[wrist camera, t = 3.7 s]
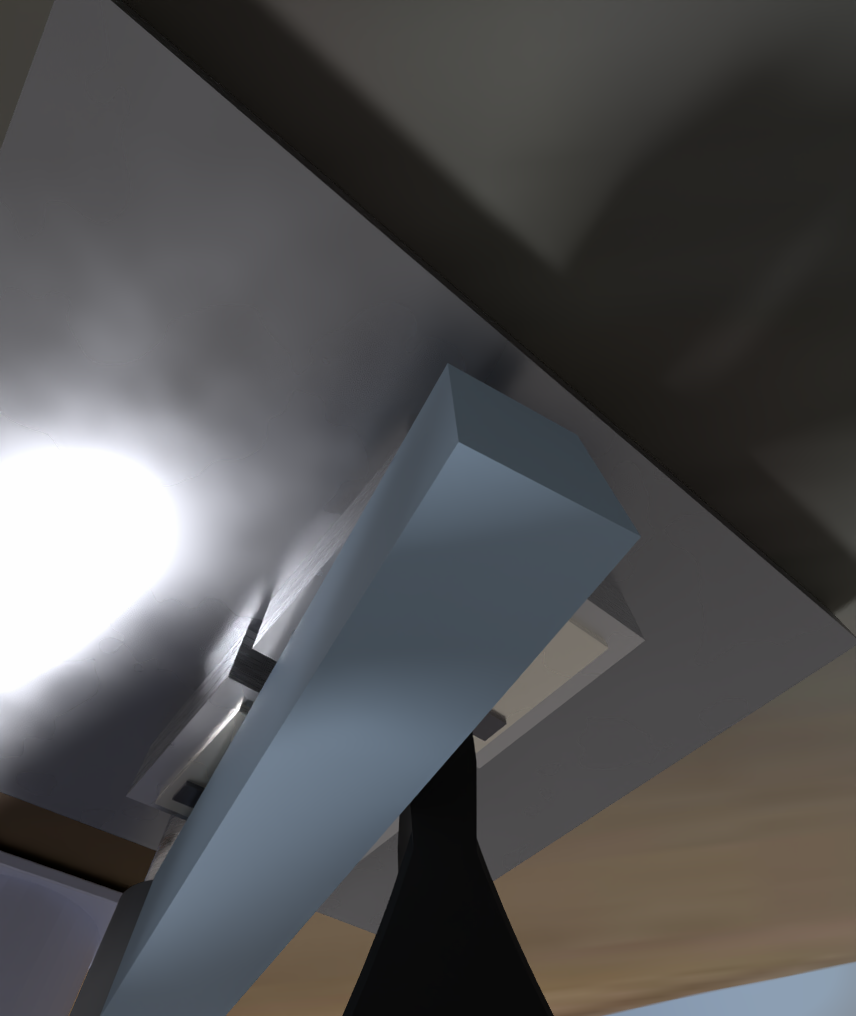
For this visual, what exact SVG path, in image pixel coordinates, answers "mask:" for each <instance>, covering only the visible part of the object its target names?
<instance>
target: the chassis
mask: <svg viewBox="0 0 856 1016" xmlns="http://www.w3.org/2000/svg"><path fill="white" fill-rule="evenodd" d="M448 363H449V364H450V365H452V366H454V367H456V368H458V369H459V370H461V371H463V372H465V373H467V374H468V375H470V376H472V377H474V378H476V379H477V380H479V381H481V382H483V383H485V384H486V385H488V386H490V387H492V388H494V389H495V390H497V391H499V392H501V393H503V394H504V395H506V396H508V397H510V398H512V399H513V400H515V401H517V402H519V403H521V404H522V405H524V406H526V407H528V408H530V409H531V410H533V411H535V412H537V413H539V414H540V415H542V416H544V417H546V418H548V419H549V420H551V421H553V422H555V423H557V424H558V425H560V426H562V427H564V428H566V429H567V430H569V431H571V432H573V433H575V434H576V435H578V437H579V438H580V440H581V442H582V443H583V445H584V446H585V448H586V450H587V451H588V453H589V454H590V456H591V458H592V459H593V461H594V462H595V464H596V466H597V467H598V469H599V470H600V472H601V473H602V475H603V477H604V478H605V480H606V481H607V483H608V485H609V486H610V488H611V489H612V491H613V493H614V494H615V496H616V497H617V499H618V501H619V502H620V504H621V505H622V507H623V509H624V510H625V512H626V513H627V515H628V516H629V518H630V520H631V521H632V523H633V524H634V526H635V528H636V529H637V531H638V532H639V534H640V536H641V537H640V539H639V540H638V541H637V542H636V543H635V544H634V546H633V547H632V548H631V549H630V550H629V551H628V552H627V554H626V555H625V556H624V557H623V558H622V559H621V561H620V562H619V563H618V564H617V565H616V566H615V567H614V569H613V570H612V571H611V572H610V573H609V574H608V576H607V577H606V578H605V579H604V580H603V581H602V582H601V584H600V585H599V586H598V587H597V588H596V589H595V590H594V592H593V593H592V594H591V595H590V596H589V597H588V599H587V600H586V601H585V602H584V603H583V604H582V605H581V607H580V608H579V609H578V610H577V611H576V612H575V614H574V615H573V616H572V617H571V618H570V619H569V620H568V622H567V623H566V624H565V625H564V626H563V627H562V629H561V630H560V631H559V632H558V633H557V634H556V635H555V637H554V638H553V639H552V640H551V641H550V642H549V643H548V645H547V646H546V647H545V648H544V649H543V650H542V652H541V653H540V654H539V655H538V656H537V657H536V658H535V660H534V661H533V662H532V663H531V664H530V665H529V667H528V668H527V669H526V670H525V671H524V672H523V673H522V675H521V676H520V677H519V678H518V679H517V680H516V681H515V683H514V684H513V685H512V686H511V687H510V688H509V690H508V691H507V692H506V693H505V694H504V695H503V696H502V698H501V699H500V700H499V701H498V702H497V703H496V705H495V706H494V707H493V708H492V709H491V710H490V711H489V713H488V714H487V715H486V716H485V717H484V718H483V720H482V721H481V722H480V723H479V724H478V725H477V726H476V728H475V729H474V730H473V731H472V732H473V738H474V745H475V753H476V761H477V840H478V843H479V846H480V849H481V852H482V854H483V857H484V860H485V862H486V865H487V868H488V870H489V873H490V875H491V878H492V880H493V881H494V880H496V879H497V878H499V877H500V876H502V875H503V874H505V873H506V872H508V871H510V870H511V869H513V868H514V867H516V866H517V865H519V864H520V863H522V862H523V861H525V860H526V859H528V858H530V857H531V856H533V855H534V854H536V853H537V852H539V851H540V850H542V849H543V848H545V847H546V846H548V845H550V844H551V843H553V842H554V841H556V840H557V839H559V838H560V837H562V836H563V835H565V834H566V833H568V832H569V831H571V830H573V829H574V828H576V827H577V826H579V825H580V824H582V823H583V822H585V821H586V820H588V819H589V818H591V817H593V816H594V815H596V814H597V813H599V812H600V811H602V810H603V809H605V808H606V807H608V806H609V805H611V804H613V803H614V802H616V801H617V800H619V799H620V798H622V797H623V796H625V795H626V794H628V793H629V792H631V791H633V790H634V789H636V788H637V787H639V786H640V785H642V784H643V783H645V782H646V781H648V780H649V779H651V778H653V777H654V776H656V775H657V774H659V773H660V772H662V771H663V770H665V769H666V768H668V767H669V766H671V765H673V764H674V763H676V762H677V761H679V760H680V759H682V758H683V757H685V756H686V755H688V754H689V753H691V752H692V751H694V750H696V749H697V748H699V747H700V746H702V745H703V744H705V743H706V742H708V741H709V740H711V739H712V738H714V737H716V736H717V735H719V734H720V733H722V732H723V731H725V730H726V729H728V728H729V727H731V726H732V725H734V724H736V723H737V722H739V721H740V720H742V719H743V718H745V717H746V716H748V715H749V714H751V713H752V712H754V711H756V710H757V709H759V708H760V707H762V706H763V705H765V704H766V703H768V702H769V701H771V700H772V699H774V698H776V697H777V696H779V695H780V694H782V693H783V692H785V691H786V690H788V689H789V688H791V687H792V686H794V685H796V684H797V683H799V682H800V681H802V680H803V679H805V678H806V677H808V676H809V675H811V674H812V673H814V672H815V671H817V670H819V669H820V668H822V667H823V666H825V665H826V664H828V663H829V662H831V661H832V660H834V659H835V658H837V657H839V656H840V655H842V654H843V653H845V652H846V651H848V650H849V649H851V648H852V647H854V646H855V645H856V637H855V636H854V635H853V634H852V633H851V632H850V630H849V629H848V628H847V627H846V626H845V625H844V624H843V623H842V622H841V621H840V620H839V619H838V618H837V617H836V616H835V615H834V614H833V613H832V612H831V611H830V610H829V609H828V608H827V607H826V606H825V605H823V604H822V603H821V602H820V601H819V600H818V599H816V598H815V597H814V596H813V595H812V594H811V593H810V592H808V591H807V590H806V589H805V588H804V587H803V586H801V585H800V584H799V583H798V582H797V581H796V580H794V579H793V578H792V577H791V576H790V575H789V574H787V573H786V572H785V571H784V570H783V569H782V568H780V567H779V566H778V565H777V564H776V563H775V562H774V561H772V560H771V559H770V558H769V557H768V556H767V555H765V554H764V553H763V552H762V551H761V550H760V549H758V548H757V547H756V546H755V545H754V544H753V543H751V542H750V541H749V540H748V539H747V538H746V537H744V536H743V535H742V534H741V533H740V532H739V531H738V530H736V529H735V528H734V527H733V526H732V525H731V524H729V523H728V522H727V521H726V520H725V519H724V518H722V517H721V516H720V515H719V514H718V513H717V512H715V511H714V510H713V509H712V508H711V507H710V506H708V505H707V504H706V503H705V502H704V501H703V500H702V499H700V498H699V497H698V496H697V495H696V494H695V493H693V492H692V491H691V490H690V489H689V488H688V487H686V486H685V485H684V484H683V483H682V482H681V481H679V480H678V479H677V478H676V477H675V476H674V475H672V474H671V473H670V472H669V471H668V470H667V469H666V468H664V467H663V466H662V465H661V464H660V463H659V462H657V461H656V460H655V459H654V458H653V457H652V456H650V455H649V454H648V453H647V452H646V451H645V450H643V449H642V448H641V447H640V446H639V445H638V444H636V443H635V442H634V441H633V440H632V439H631V438H630V437H628V436H627V435H626V434H625V433H624V432H623V431H621V430H620V429H619V428H618V427H617V426H616V425H614V424H613V423H612V422H611V421H610V420H609V419H607V418H606V417H605V416H604V415H603V414H602V413H600V412H599V411H598V410H597V409H596V408H595V407H594V406H592V405H591V404H590V403H589V402H588V401H587V400H585V399H584V398H583V397H582V396H581V395H580V394H578V393H577V392H576V391H575V390H574V389H573V388H571V387H570V386H569V385H568V384H567V383H566V382H564V381H563V380H562V379H561V378H560V377H559V376H558V375H556V374H555V373H554V372H553V371H552V370H551V369H549V368H548V367H547V366H546V365H545V364H544V363H542V362H541V361H540V360H539V359H538V358H537V357H535V356H534V355H533V354H532V353H531V352H530V351H528V350H527V349H526V348H525V347H524V346H523V345H522V344H520V343H519V342H518V341H517V340H516V339H515V338H513V337H512V336H511V335H510V334H509V333H508V332H506V331H505V330H504V329H503V328H502V327H501V326H499V325H498V324H497V323H496V322H495V321H494V320H492V319H491V318H490V317H489V316H488V315H487V314H486V313H484V312H483V311H482V310H481V309H480V308H479V307H477V306H476V305H475V304H474V303H473V302H472V301H470V300H469V299H468V298H467V297H466V296H465V295H463V294H462V293H461V292H460V291H459V290H458V289H457V288H455V287H454V286H453V285H452V284H451V283H450V282H448V281H447V280H446V279H445V278H444V277H443V276H441V275H440V274H439V273H438V272H437V271H436V270H434V269H433V268H432V267H431V266H430V265H429V264H427V263H426V262H425V261H424V260H423V259H422V258H421V257H419V256H418V255H417V254H416V253H415V252H414V251H412V250H411V249H410V248H409V247H408V246H407V245H405V244H404V243H403V242H402V241H401V240H400V239H398V238H397V237H396V236H395V235H394V234H393V233H391V232H390V231H389V230H388V229H387V228H386V227H385V226H383V225H382V224H381V223H380V222H379V221H378V220H376V219H375V218H374V217H373V216H372V215H371V214H369V213H368V212H367V211H366V210H365V209H364V208H362V207H361V206H360V205H359V204H358V203H357V202H355V201H354V200H353V199H352V198H351V197H350V196H349V195H347V194H346V193H345V192H344V191H343V190H342V189H340V188H339V187H338V186H337V185H336V184H335V183H333V182H332V181H331V180H330V179H329V178H328V177H326V176H325V175H324V174H323V173H322V172H321V171H319V170H318V169H317V168H316V167H315V166H314V165H313V164H311V163H310V162H309V161H308V160H307V159H306V158H304V157H303V156H302V155H301V154H300V153H299V152H297V151H296V150H295V149H294V148H293V147H292V146H290V145H289V144H288V143H287V142H286V141H285V140H283V139H282V138H281V137H280V136H279V135H278V134H277V133H275V132H274V131H273V130H272V129H271V128H270V127H268V126H267V125H266V124H265V123H264V122H263V121H261V120H260V119H259V118H258V117H257V116H256V115H254V114H253V113H252V112H251V111H250V110H249V109H247V108H246V107H245V106H244V105H243V104H242V103H241V102H239V101H238V100H237V99H236V98H235V97H234V96H232V95H231V94H230V93H229V92H228V91H227V90H225V89H224V88H223V87H222V86H221V85H220V84H218V83H217V82H216V81H215V80H214V79H213V78H211V77H210V76H209V75H208V74H207V73H206V72H205V71H203V70H202V69H201V68H200V67H199V66H198V65H196V64H195V63H194V62H193V61H192V60H191V59H189V58H188V57H187V56H186V55H185V54H184V53H182V52H181V51H180V50H179V49H178V48H177V47H175V46H174V45H173V44H172V43H171V42H170V41H169V40H167V39H166V38H165V37H164V36H163V35H162V34H160V33H159V32H158V31H157V30H156V29H155V28H153V27H152V26H151V25H150V24H149V23H148V22H146V21H145V20H144V19H143V18H142V17H141V16H139V15H138V14H137V13H136V12H135V11H134V10H133V9H131V8H130V7H129V6H128V5H127V4H126V3H124V2H123V1H122V0H55V1H54V4H53V6H52V9H51V12H50V15H49V17H48V20H47V23H46V26H45V29H44V31H43V34H42V37H41V40H40V42H39V45H38V48H37V51H36V53H35V56H34V59H33V62H32V64H31V67H30V70H29V73H28V75H27V78H26V81H25V84H24V87H23V89H22V92H21V95H20V98H19V100H18V103H17V106H16V109H15V111H14V114H13V117H12V120H11V122H10V125H9V128H8V131H7V133H6V136H5V139H4V142H3V144H2V147H1V150H0V792H2V793H5V794H7V795H10V796H13V797H15V798H18V799H21V800H23V801H26V802H29V803H31V804H34V805H36V806H39V807H42V808H44V809H47V810H50V811H52V812H55V813H58V814H60V815H63V816H65V817H68V818H71V819H73V820H76V821H79V822H81V823H84V824H87V825H89V826H92V827H95V828H97V829H100V830H102V831H105V832H108V833H110V834H113V835H116V836H118V837H121V838H124V839H126V840H129V841H132V842H134V843H137V844H139V845H142V846H145V847H147V848H150V849H153V850H155V851H156V853H155V856H154V858H153V860H152V863H151V865H150V868H149V870H148V873H147V875H146V878H145V880H144V881H148V880H153V879H154V877H155V875H156V873H157V871H158V870H159V868H160V866H161V864H162V863H163V861H164V859H165V857H166V856H167V854H168V852H169V850H170V849H171V847H172V845H173V843H174V842H175V840H176V838H177V836H178V835H179V833H180V831H181V829H182V828H183V826H184V824H185V822H186V821H187V819H188V817H189V815H190V814H191V812H192V810H193V808H194V807H195V805H196V803H197V801H198V800H199V798H200V796H201V794H202V793H203V791H204V789H205V787H206V786H207V784H208V782H209V780H210V779H211V777H212V775H213V773H214V772H215V770H216V768H217V766H218V764H219V763H220V761H221V759H222V757H223V756H224V754H225V752H226V750H227V749H228V747H229V745H230V743H231V742H232V740H233V738H234V736H235V735H236V733H237V731H238V729H239V728H240V726H241V724H242V722H243V721H244V719H245V717H246V715H247V714H248V712H249V710H250V708H251V707H252V705H253V703H254V701H255V700H256V698H257V696H258V694H259V693H260V691H261V689H262V687H263V686H264V684H265V682H266V680H267V679H268V677H269V675H270V673H271V672H272V670H273V668H274V666H275V665H276V663H277V661H278V659H279V658H280V656H281V654H282V652H283V651H284V649H285V647H286V645H287V644H288V642H289V640H290V638H291V637H292V635H293V633H294V631H295V630H296V628H297V626H298V624H299V623H300V621H301V619H302V617H303V616H304V614H305V612H306V610H307V609H308V607H309V605H310V603H311V602H312V600H313V598H314V596H315V595H316V593H317V591H318V589H319V588H320V586H321V584H322V582H323V581H324V579H325V577H326V575H327V574H328V572H329V570H330V568H331V567H332V565H333V563H334V561H335V560H336V558H337V556H338V554H339V553H340V551H341V549H342V547H343V546H344V544H345V542H346V540H347V539H348V537H349V535H350V533H351V532H352V530H353V528H354V526H355V525H356V523H357V521H358V519H359V518H360V516H361V514H362V512H363V511H364V509H365V507H366V505H367V504H368V502H369V500H370V498H371V497H372V495H373V493H374V491H375V490H376V488H377V486H378V484H379V483H380V481H381V479H382V477H383V476H384V474H385V472H386V470H387V469H388V467H389V465H390V463H391V462H392V460H393V458H394V456H395V455H396V453H397V451H398V449H399V448H400V446H401V444H402V442H403V441H404V439H405V437H406V435H407V434H408V432H409V430H410V428H411V427H412V425H413V423H414V421H415V420H416V418H417V416H418V414H419V413H420V411H421V409H422V407H423V406H424V404H425V402H426V400H427V399H428V397H429V395H430V393H431V392H432V390H433V388H434V386H435V385H436V383H437V381H438V379H439V378H440V376H441V374H442V372H443V371H444V369H445V367H446V365H447V364H448ZM398 830H399V816H398V817H397V819H396V820H395V821H394V822H393V823H392V824H391V825H390V827H389V828H388V829H387V830H386V831H385V832H384V834H383V835H382V836H381V837H380V838H379V839H378V840H377V842H376V843H375V844H374V845H373V846H372V847H371V849H370V850H369V851H368V852H367V853H366V854H365V855H364V857H363V858H362V859H361V860H360V861H359V862H358V864H357V865H356V866H355V867H354V868H353V869H352V870H351V872H350V873H349V874H348V875H347V876H346V877H345V878H344V880H343V881H342V882H341V883H340V884H339V885H338V887H337V888H336V889H335V890H334V891H333V892H332V893H331V895H330V896H329V897H328V898H327V899H326V900H325V902H324V903H323V904H322V905H321V906H320V907H319V908H318V910H317V911H316V912H319V913H322V914H324V915H327V916H330V917H332V918H335V919H338V920H340V921H343V922H345V923H348V924H351V925H353V926H356V927H359V928H361V929H364V930H367V931H369V932H372V933H375V934H377V931H378V928H379V926H380V923H381V920H382V918H383V915H384V912H385V910H386V907H387V904H388V901H389V899H390V896H391V893H392V890H393V887H394V884H395V881H396V878H397V875H398Z"/></svg>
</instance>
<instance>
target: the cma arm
mask: <svg viewBox="0 0 856 1016" xmlns="http://www.w3.org/2000/svg"><path fill="white" fill-rule="evenodd" d="M640 537H641V536H640V534H639V532H638V531H637V529H636V528H635V526H634V524H633V523H632V521H631V520H630V518H629V516H628V515H627V513H626V512H625V510H624V509H623V507H622V505H621V504H620V502H619V501H618V499H617V497H616V496H615V494H614V493H613V491H612V489H611V488H610V486H609V485H608V483H607V481H606V480H605V478H604V477H603V475H602V473H601V472H600V470H599V469H598V467H597V466H596V464H595V462H594V461H593V459H592V458H591V456H590V454H589V453H588V451H587V450H586V448H585V446H584V445H583V443H582V442H581V440H580V438H579V437H578V435H576V434H575V433H573V432H571V431H569V430H567V429H566V428H564V427H562V426H560V425H558V424H557V423H555V422H553V421H551V420H549V419H548V418H546V417H544V416H542V415H540V414H539V413H537V412H535V411H533V410H531V409H530V408H528V407H526V406H524V405H522V404H521V403H519V402H517V401H515V400H513V399H512V398H510V397H508V396H506V395H504V394H503V393H501V392H499V391H497V390H495V389H494V388H492V387H490V386H488V385H486V384H485V383H483V382H481V381H479V380H477V379H476V378H474V377H472V376H470V375H468V374H467V373H465V372H463V371H461V370H459V369H458V368H456V367H454V366H452V365H450V364H449V363H448V364H447V365H446V367H445V369H444V371H443V372H442V374H441V376H440V378H439V379H438V381H437V383H436V385H435V386H434V388H433V390H432V392H431V393H430V395H429V397H428V399H427V400H426V402H425V404H424V406H423V407H422V409H421V411H420V413H419V414H418V416H417V418H416V420H415V421H414V423H413V425H412V427H411V428H410V430H409V432H408V434H407V435H406V437H405V439H404V441H403V442H402V444H401V446H400V448H399V449H398V451H397V453H396V455H395V456H394V458H393V460H392V462H391V463H390V465H389V467H388V469H387V470H386V472H385V474H384V476H383V477H382V479H381V481H380V483H379V484H378V486H377V488H376V490H375V491H374V493H373V495H372V497H371V498H370V500H369V502H368V504H367V505H366V507H365V509H364V511H363V512H362V514H361V516H360V518H359V519H358V521H357V523H356V525H355V526H354V528H353V530H352V532H351V533H350V535H349V537H348V539H347V540H346V542H345V544H344V546H343V547H342V549H341V551H340V553H339V554H338V556H337V558H336V560H335V561H334V563H333V565H332V567H331V568H330V570H329V572H328V574H327V575H326V577H325V579H324V581H323V582H322V584H321V586H320V588H319V589H318V591H317V593H316V595H315V596H314V598H313V600H312V602H311V603H310V605H309V607H308V609H307V610H306V612H305V614H304V616H303V617H302V619H301V621H300V623H299V624H298V626H297V628H296V630H295V631H294V633H293V635H292V637H291V638H290V640H289V642H288V644H287V645H286V647H285V649H284V651H283V652H282V654H281V656H280V658H279V659H278V661H277V663H276V665H275V666H274V668H273V670H272V672H271V673H270V675H269V677H268V679H267V680H266V682H265V684H264V686H263V687H262V689H261V691H260V693H259V694H258V696H257V698H256V700H255V701H254V703H253V705H252V707H251V708H250V710H249V712H248V714H247V715H246V717H245V719H244V721H243V722H242V724H241V726H240V728H239V729H238V731H237V733H236V735H235V736H234V738H233V740H232V742H231V743H230V745H229V747H228V749H227V750H226V752H225V754H224V756H223V757H222V759H221V761H220V763H219V764H218V766H217V768H216V770H215V772H214V773H213V775H212V777H211V779H210V780H209V782H208V784H207V786H206V787H205V789H204V791H203V793H202V794H201V796H200V798H199V800H198V801H197V803H196V805H195V807H194V808H193V810H192V812H191V814H190V815H189V817H188V819H187V821H186V822H185V824H184V826H183V828H182V829H181V831H180V833H179V835H178V836H177V838H176V840H175V842H174V843H173V845H172V847H171V849H170V850H169V852H168V854H167V856H166V857H165V859H164V861H163V863H162V864H161V866H160V868H159V870H158V871H157V873H156V875H155V877H154V879H153V880H148V881H144V882H141V883H138V884H136V885H133V886H131V887H130V888H128V889H127V890H126V891H125V892H124V893H123V894H122V895H121V897H120V899H119V902H118V904H117V906H116V909H115V911H114V913H113V916H112V918H111V920H110V923H109V925H108V927H107V930H106V932H105V934H104V937H103V939H102V941H101V944H100V946H99V948H98V951H97V953H96V955H95V958H94V960H93V962H92V965H91V967H90V969H89V972H88V974H87V976H86V979H85V981H84V983H83V985H82V988H81V990H80V992H79V995H78V997H77V999H76V1002H75V1004H74V1006H73V1009H72V1011H71V1013H70V1016H226V1014H227V1013H228V1012H229V1011H230V1010H231V1009H232V1007H233V1006H234V1005H235V1004H236V1003H237V1002H238V1001H239V999H240V998H241V997H242V996H243V995H244V994H245V993H246V991H247V990H248V989H249V988H250V987H251V986H252V984H253V983H254V982H255V981H256V980H257V979H258V978H259V976H260V975H261V974H262V973H263V972H264V971H265V969H266V968H267V967H268V966H269V965H270V964H271V963H272V961H273V960H274V959H275V958H276V957H277V956H278V955H279V953H280V952H281V951H282V950H283V949H284V948H285V946H286V945H287V944H288V943H289V942H290V941H291V940H292V938H293V937H294V936H295V935H296V934H297V933H298V931H299V930H300V929H301V928H302V927H303V926H304V925H305V923H306V922H307V921H308V920H309V919H310V918H311V916H312V915H313V914H314V913H315V912H316V911H317V910H318V908H319V907H320V906H321V905H322V904H323V903H324V902H325V900H326V899H327V898H328V897H329V896H330V895H331V893H332V892H333V891H334V890H335V889H336V888H337V887H338V885H339V884H340V883H341V882H342V881H343V880H344V878H345V877H346V876H347V875H348V874H349V873H350V872H351V870H352V869H353V868H354V867H355V866H356V865H357V864H358V862H359V861H360V860H361V859H362V858H363V857H364V855H365V854H366V853H367V852H368V851H369V850H370V849H371V847H372V846H373V845H374V844H375V843H376V842H377V840H378V839H379V838H380V837H381V836H382V835H383V834H384V832H385V831H386V830H387V829H388V828H389V827H390V825H391V824H392V823H393V822H394V821H395V820H396V819H397V817H398V816H399V815H400V814H401V813H402V812H403V811H404V809H405V808H406V807H407V806H408V805H409V804H410V802H411V801H412V800H413V799H414V798H415V797H416V796H417V794H418V793H419V792H420V791H421V790H422V789H423V787H424V786H425V785H426V784H427V783H428V782H429V781H430V779H431V778H432V777H433V776H434V775H435V774H436V772H437V771H438V770H439V769H440V768H441V767H442V766H443V764H444V763H445V762H446V761H447V760H448V759H449V758H450V756H451V755H452V754H453V753H454V752H455V751H456V749H457V748H458V747H459V746H460V745H461V744H462V743H463V741H464V740H465V739H466V738H467V737H468V736H469V734H470V733H471V732H472V731H473V730H474V729H475V728H476V726H477V725H478V724H479V723H480V722H481V721H482V720H483V718H484V717H485V716H486V715H487V714H488V713H489V711H490V710H491V709H492V708H493V707H494V706H495V705H496V703H497V702H498V701H499V700H500V699H501V698H502V696H503V695H504V694H505V693H506V692H507V691H508V690H509V688H510V687H511V686H512V685H513V684H514V683H515V681H516V680H517V679H518V678H519V677H520V676H521V675H522V673H523V672H524V671H525V670H526V669H527V668H528V667H529V665H530V664H531V663H532V662H533V661H534V660H535V658H536V657H537V656H538V655H539V654H540V653H541V652H542V650H543V649H544V648H545V647H546V646H547V645H548V643H549V642H550V641H551V640H552V639H553V638H554V637H555V635H556V634H557V633H558V632H559V631H560V630H561V629H562V627H563V626H564V625H565V624H566V623H567V622H568V620H569V619H570V618H571V617H572V616H573V615H574V614H575V612H576V611H577V610H578V609H579V608H580V607H581V605H582V604H583V603H584V602H585V601H586V600H587V599H588V597H589V596H590V595H591V594H592V593H593V592H594V590H595V589H596V588H597V587H598V586H599V585H600V584H601V582H602V581H603V580H604V579H605V578H606V577H607V576H608V574H609V573H610V572H611V571H612V570H613V569H614V567H615V566H616V565H617V564H618V563H619V562H620V561H621V559H622V558H623V557H624V556H625V555H626V554H627V552H628V551H629V550H630V549H631V548H632V547H633V546H634V544H635V543H636V542H637V541H638V540H639V539H640Z"/></svg>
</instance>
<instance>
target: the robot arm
mask: <svg viewBox="0 0 856 1016" xmlns="http://www.w3.org/2000/svg"><path fill="white" fill-rule="evenodd" d="M122 894H123V893H122V892H119V891H116V890H113V889H110V888H107V887H105V886H102V885H99V884H96V883H93V882H90V881H87V880H84V879H81V878H79V877H76V876H73V875H70V874H67V873H64V872H61V871H58V870H56V869H53V868H50V867H47V866H44V865H41V864H38V863H35V862H33V861H30V860H27V859H24V858H21V857H18V856H15V855H12V854H9V853H7V852H4V851H1V850H0V1016H68V1015H69V1013H70V1010H71V1008H72V1006H73V1003H74V1001H75V999H76V996H77V994H78V992H79V989H80V987H81V985H82V982H83V980H84V978H85V975H86V973H87V971H88V970H89V969H90V967H91V965H92V962H93V960H94V958H95V955H96V953H97V951H98V948H99V946H100V944H101V941H102V939H103V937H104V934H105V932H106V930H107V927H108V925H109V923H110V920H111V918H112V916H113V913H114V911H115V909H116V906H117V904H118V902H119V899H120V897H121V895H122ZM343 1016H554V1015H553V1013H552V1011H551V1009H550V1007H549V1005H548V1003H547V1001H546V999H545V997H544V995H543V993H542V991H541V989H540V987H539V985H538V983H537V981H536V979H535V977H534V975H533V972H532V970H531V968H530V966H529V964H528V962H527V960H526V957H525V955H524V953H523V951H522V949H521V947H520V944H519V942H518V940H517V938H516V935H515V933H514V931H513V929H512V926H511V924H510V922H509V919H508V917H507V915H506V912H505V910H504V908H503V905H502V903H501V900H500V898H499V895H498V893H497V890H496V888H495V885H494V883H493V880H492V878H491V875H490V873H489V870H488V868H487V865H486V862H485V860H484V857H483V854H482V852H481V849H480V846H479V843H478V840H477V761H476V753H475V745H474V738H473V732H471V733H470V734H469V736H468V737H467V738H466V739H465V740H464V741H463V743H462V744H461V745H460V746H459V747H458V748H457V749H456V751H455V752H454V753H453V754H452V755H451V756H450V758H449V759H448V760H447V761H446V762H445V763H444V764H443V766H442V767H441V768H440V769H439V770H438V771H437V772H436V774H435V775H434V776H433V777H432V778H431V779H430V781H429V782H428V783H427V784H426V785H425V786H424V787H423V789H422V790H421V791H420V792H419V793H418V794H417V796H416V797H415V798H414V799H413V800H412V801H411V802H410V804H409V805H408V806H407V807H406V808H405V809H404V811H403V812H402V813H401V814H400V815H399V830H398V875H397V878H396V881H395V884H394V887H393V890H392V893H391V896H390V899H389V901H388V904H387V907H386V910H385V912H384V915H383V918H382V920H381V923H380V926H379V928H378V931H377V934H376V936H375V939H374V941H373V944H372V946H371V949H370V951H369V954H368V956H367V959H366V961H365V964H364V966H363V969H362V971H361V974H360V976H359V978H358V981H357V983H356V985H355V988H354V990H353V992H352V995H351V997H350V999H349V1002H348V1004H347V1006H346V1009H345V1011H344V1013H343Z"/></svg>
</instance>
